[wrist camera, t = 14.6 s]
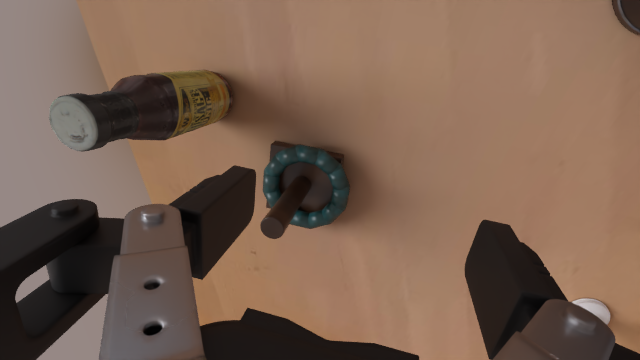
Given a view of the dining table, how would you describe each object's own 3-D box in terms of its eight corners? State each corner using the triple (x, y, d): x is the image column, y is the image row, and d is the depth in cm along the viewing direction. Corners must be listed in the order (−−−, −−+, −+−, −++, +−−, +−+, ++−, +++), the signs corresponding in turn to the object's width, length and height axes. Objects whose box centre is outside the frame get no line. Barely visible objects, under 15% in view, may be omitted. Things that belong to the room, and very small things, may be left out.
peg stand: (344, 154, 41) (323, 197, 29) (333, 217, 44) (311, 276, 33) (274, 140, 42) (229, 176, 31) (269, 202, 46) (227, 255, 34)
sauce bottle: (226, 128, 43) (102, 189, 25) (184, 104, 43) (30, 148, 25) (244, 81, 40) (118, 112, 22) (199, 56, 40) (36, 67, 22)
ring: (356, 153, 39) (354, 158, 37) (342, 230, 43) (339, 239, 41) (269, 136, 40) (263, 140, 38) (264, 213, 45) (258, 220, 43)
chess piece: (617, 314, 41) (680, 390, 32) (582, 334, 43) (631, 412, 34) (587, 291, 40) (641, 362, 31) (553, 313, 43) (594, 385, 34)
